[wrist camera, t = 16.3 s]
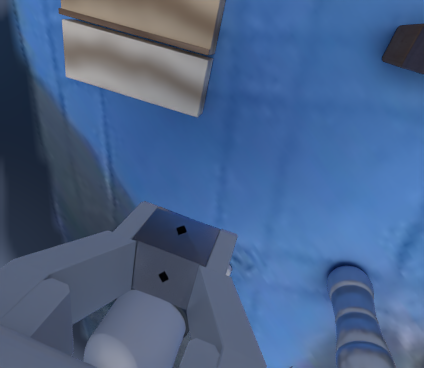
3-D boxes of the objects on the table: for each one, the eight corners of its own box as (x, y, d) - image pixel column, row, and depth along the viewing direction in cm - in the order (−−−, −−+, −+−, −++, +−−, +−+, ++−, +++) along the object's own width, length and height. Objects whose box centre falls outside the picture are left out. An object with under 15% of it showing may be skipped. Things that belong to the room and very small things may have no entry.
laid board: (214, 53, 35) (207, 55, 33) (75, 15, 38) (58, 13, 35) (228, -13, 32) (221, -17, 29) (73, -51, 34) (54, -58, 32)
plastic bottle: (324, 288, 48) (338, 428, 31) (326, 257, 45) (343, 394, 28) (366, 293, 46) (405, 445, 29) (372, 261, 43) (420, 411, 26)
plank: (202, 112, 39) (197, 117, 37) (76, 74, 42) (65, 76, 40) (213, 58, 35) (208, 60, 33) (74, 19, 38) (62, 19, 36)
